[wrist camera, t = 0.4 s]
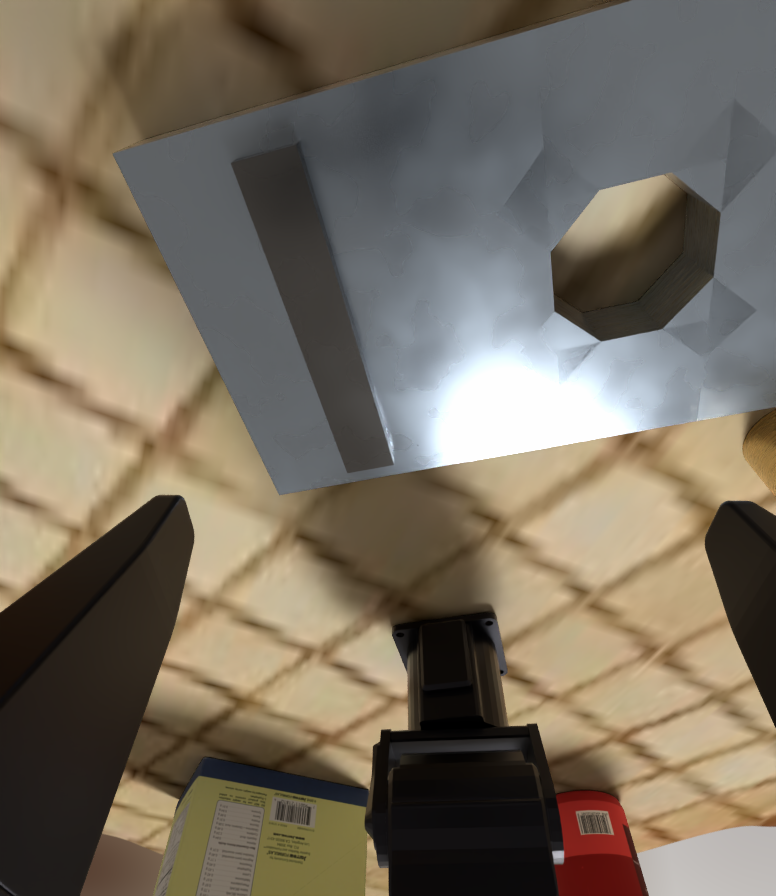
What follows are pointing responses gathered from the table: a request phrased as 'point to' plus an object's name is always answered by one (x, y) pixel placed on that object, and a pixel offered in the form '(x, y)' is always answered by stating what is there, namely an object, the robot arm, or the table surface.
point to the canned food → (597, 847)
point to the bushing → (763, 450)
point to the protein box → (264, 835)
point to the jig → (479, 242)
